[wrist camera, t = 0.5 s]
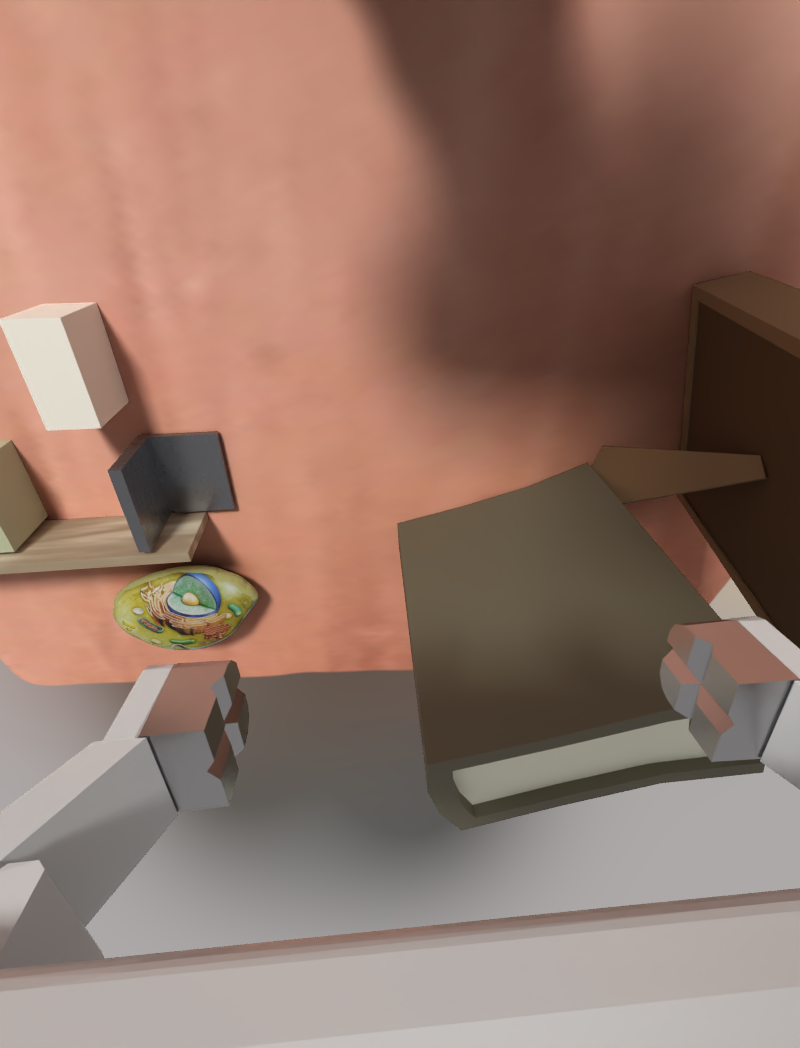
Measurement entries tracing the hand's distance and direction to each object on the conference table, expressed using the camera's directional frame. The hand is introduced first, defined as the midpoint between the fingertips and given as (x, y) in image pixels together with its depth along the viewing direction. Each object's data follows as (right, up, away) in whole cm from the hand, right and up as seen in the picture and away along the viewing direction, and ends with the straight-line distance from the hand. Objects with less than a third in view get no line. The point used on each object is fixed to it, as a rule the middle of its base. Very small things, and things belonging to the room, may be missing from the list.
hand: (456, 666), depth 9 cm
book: (+9, +2, +45) cm, 46 cm away
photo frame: (+24, +14, +39) cm, 47 cm away
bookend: (-21, +8, +37) cm, 44 cm away
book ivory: (-27, +17, +31) cm, 44 cm away
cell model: (-25, -5, +46) cm, 52 cm away
